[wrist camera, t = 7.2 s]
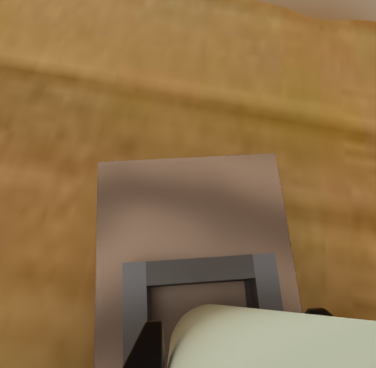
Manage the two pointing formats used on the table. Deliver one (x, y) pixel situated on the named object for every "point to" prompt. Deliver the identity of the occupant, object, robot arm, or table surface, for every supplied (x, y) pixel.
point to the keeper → (187, 244)
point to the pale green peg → (269, 340)
